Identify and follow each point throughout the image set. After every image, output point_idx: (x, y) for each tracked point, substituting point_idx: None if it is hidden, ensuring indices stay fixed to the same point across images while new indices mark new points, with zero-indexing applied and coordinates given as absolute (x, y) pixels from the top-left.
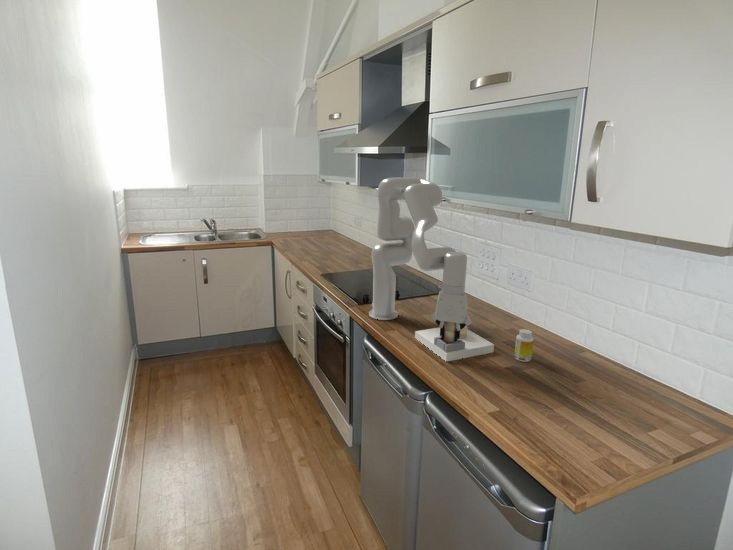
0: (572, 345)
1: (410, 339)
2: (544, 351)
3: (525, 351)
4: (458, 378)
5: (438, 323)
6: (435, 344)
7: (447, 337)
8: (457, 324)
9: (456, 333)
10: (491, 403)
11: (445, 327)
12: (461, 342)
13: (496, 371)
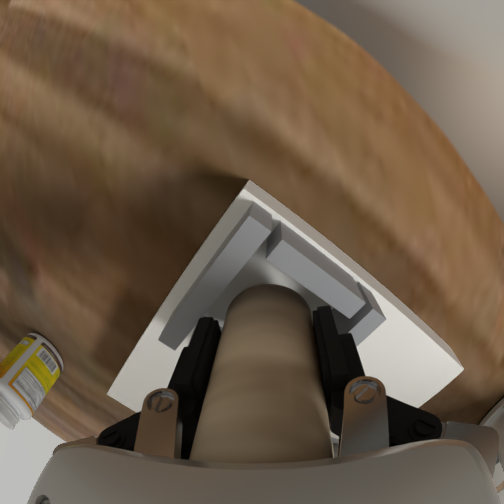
0: (48, 426)
1: (464, 331)
2: (51, 400)
3: (10, 352)
4: (127, 44)
5: (402, 415)
6: (360, 284)
7: (272, 318)
8: (160, 447)
9: (185, 364)
10: (21, 7)
11: (310, 398)
12: (176, 331)
13: (37, 220)
